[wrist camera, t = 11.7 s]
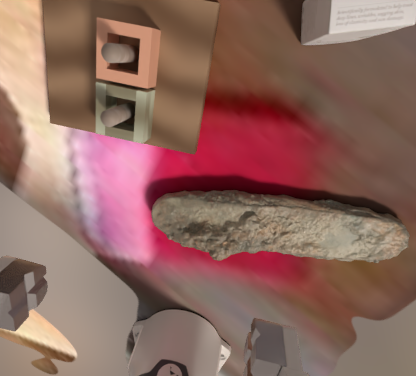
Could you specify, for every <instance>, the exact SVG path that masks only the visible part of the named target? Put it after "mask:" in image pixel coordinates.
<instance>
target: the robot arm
mask: <svg viewBox="0 0 416 376" xmlns="http://www.w3.org/2000/svg"><path fill="white" fill-rule="evenodd" d="M45 274H46V267H45V266H43V265H40V264H36V263H33V262H29V261H26V260H22V259H18V258H14V257H10V256H4V257H1V258H0V328H2V329H7V330H11V331H16V330H17V329H18V328H19V327H20V326H21V324H22V323H23V322H24V321H25V320H26V319H27V318H28V317H29V310H31V309H33V308H35V307H37V306H38V305H39V304H40V303H41V301H42V300H43V298H44V296H45V294H46V292H47V281H46V280H45V279H44V277H43V276H44V275H45ZM132 331H133V336H134V342H135V346H134V349H133V352H132V354H131V357H130V360H129V363H128V366H127V369H128V370H129V376H218V372H219V370H220V369H221V367H222V366H223V364H224V363H225V361H226V360H227V358H228V357H229V355H230V352H231V347H230V346H229V345H228V344H227V343H226V342H225V341H223V340H222V339H221V338H220V337H219V335H218V333H217V331H216V330H215V328H214V327H213V326H212V325H211V324H210V323H209V322H208V321H207V320H205V319H204V318H202V317H200V316H199V315H196V314H194V313H191V312H188V311H184V310H164V311H161V312H158V313H156V314H154V315H153V316H151V317H150V318H148V319H146V320H142V321H137V322H135V323H134V325H133V328H132ZM244 362H245V364H246V367H245V369H244V372H243V376H309V374H308V373H306V372H303V367H302V361H301V355H300V349H299V342H298V336H297V330H296V329H295V328H294V327H290V326H286V325H282V324H278V323H274V322H270V321H265V320H261V319H257V318H254V319H253V321H252V324H251V332H249V333H248V336H247V339H246V343H245V349H244Z"/></svg>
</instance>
